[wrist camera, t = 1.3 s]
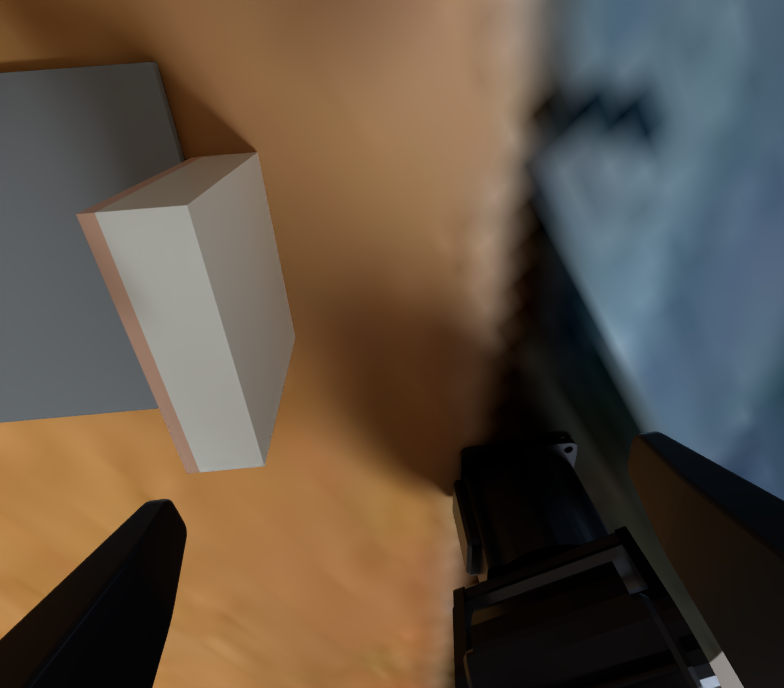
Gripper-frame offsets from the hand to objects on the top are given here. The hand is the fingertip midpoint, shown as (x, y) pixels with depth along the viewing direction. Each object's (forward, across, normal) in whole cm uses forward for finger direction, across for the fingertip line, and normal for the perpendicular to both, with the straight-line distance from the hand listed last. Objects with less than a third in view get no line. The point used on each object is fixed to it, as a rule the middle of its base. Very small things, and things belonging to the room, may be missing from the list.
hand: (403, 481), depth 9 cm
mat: (+12, +13, -1) cm, 18 cm away
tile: (+12, +5, -1) cm, 13 cm away
